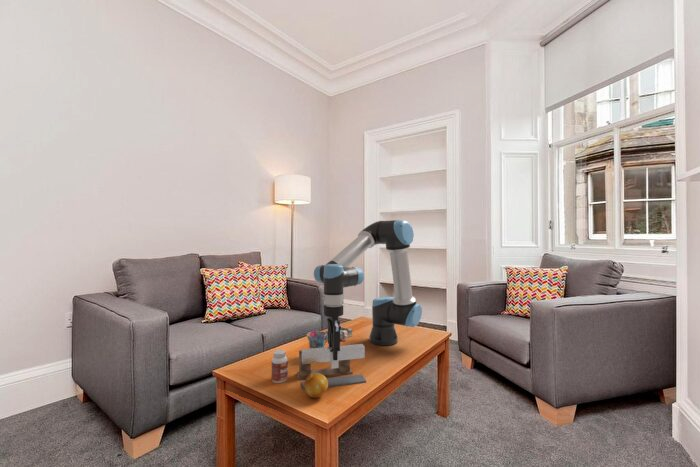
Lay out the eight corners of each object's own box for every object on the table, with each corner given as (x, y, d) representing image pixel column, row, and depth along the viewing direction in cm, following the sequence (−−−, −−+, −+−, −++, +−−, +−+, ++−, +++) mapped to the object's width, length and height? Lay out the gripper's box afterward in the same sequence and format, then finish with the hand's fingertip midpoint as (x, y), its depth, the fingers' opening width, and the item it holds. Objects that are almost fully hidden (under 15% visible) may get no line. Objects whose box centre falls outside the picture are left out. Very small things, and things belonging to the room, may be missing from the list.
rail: (362, 355, 131) (362, 343, 131) (364, 357, 128) (364, 346, 128) (301, 361, 125) (301, 349, 125) (302, 364, 122) (302, 352, 122)
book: (335, 345, 169) (335, 336, 169) (317, 341, 177) (317, 331, 177) (358, 336, 185) (358, 327, 185) (341, 332, 193) (341, 323, 193)
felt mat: (361, 375, 133) (361, 374, 133) (366, 382, 127) (366, 380, 127) (301, 383, 127) (301, 381, 127) (303, 390, 121) (303, 388, 121)
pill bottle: (282, 384, 125) (281, 355, 125) (268, 382, 128) (268, 353, 128) (290, 377, 131) (290, 350, 131) (277, 375, 134) (277, 348, 133)
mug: (315, 362, 147) (315, 338, 147) (302, 357, 153) (302, 334, 153) (335, 354, 156) (334, 332, 156) (321, 350, 162) (321, 328, 162)
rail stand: (348, 367, 141) (348, 345, 141) (352, 373, 135) (352, 350, 135) (296, 373, 135) (296, 350, 135) (298, 379, 129) (298, 355, 129)
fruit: (301, 401, 113) (301, 377, 113) (308, 390, 121) (308, 368, 121) (325, 403, 112) (324, 379, 112) (330, 391, 120) (330, 369, 120)
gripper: (320, 301, 134) (320, 359, 134) (328, 310, 118) (328, 375, 118) (338, 300, 136) (338, 357, 136) (348, 308, 120) (348, 373, 120)
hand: (333, 365), depth 127 cm, fingers closed on rail, 3 cm apart
